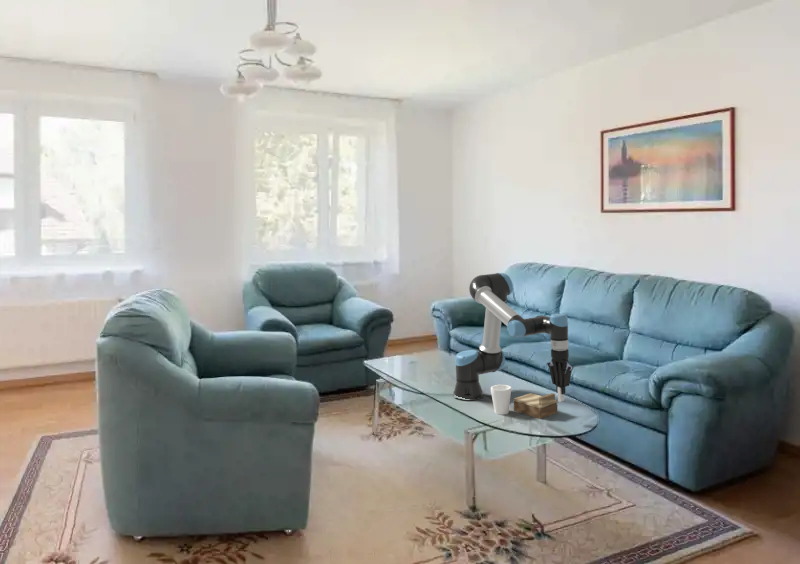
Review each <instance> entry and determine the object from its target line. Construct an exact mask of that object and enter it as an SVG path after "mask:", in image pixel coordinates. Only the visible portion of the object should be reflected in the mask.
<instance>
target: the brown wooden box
mask: <svg viewBox="0 0 800 564" xmlns="http://www.w3.org/2000/svg"><path fill="white" fill-rule="evenodd" d="M513 411H514V412H516V413H519V414H523V415H526V416H529V417H532V418H535V419H539V420H541V419H544V418H546V417H550V416H552V415H556V414H557V413H558V402H557V403H555V404H552V405H549V406H546V407H543V408H540V409H539V408H536V407H533V406H529V405H526V404H523V403H519V402H516V401H514V400H513Z"/></svg>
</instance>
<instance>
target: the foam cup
mask: <svg viewBox="0 0 800 564" xmlns="http://www.w3.org/2000/svg"><path fill="white" fill-rule="evenodd" d="M511 393H512V386H510V385H508V384H495V385H492V386H490V394H491V398H492V405H493V410H494V413H495V414H496V415H501V416H502V415H503V416H505V415H508V414H509V412H510V404H511Z"/></svg>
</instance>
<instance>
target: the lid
mask: <svg viewBox="0 0 800 564" xmlns="http://www.w3.org/2000/svg"><path fill="white" fill-rule="evenodd" d="M514 401H516V402H519V403H523V404H526V405H529V406H533V407H536V408H539V409H540V408H543V407H546V406H549V405H552V404H555V403H557V404H558V399H556V393H548V394H546V395H538V394H535V393H531V392H530V393H527V394H523V395H521V396H517V397H514V398H513V402H514Z"/></svg>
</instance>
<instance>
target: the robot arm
mask: <svg viewBox="0 0 800 564" xmlns="http://www.w3.org/2000/svg"><path fill="white" fill-rule="evenodd" d="M512 281H513V280H512V279H511V277H510V276H509V275H508V274H507V273H504V272H495V273H488V274H480V275H477V276H475V277H474V278H473V279H472V280H471V282H470V283H469V287H468V288H469V289H468V290H469V291H468V292H469V294H470V296H471V298H472V299H473V300H474V301H475V302H476V303H477V304H481V305H483V307H485V316H484V322H483V323H484V325H483V336H482V343H481V344H480V345H479V347H478V351H477V350H476V349H469V350H467V349H466V350H463V351H460V352H458V353H457V354H456V355H455V360H454V361H455V362H454V363H455V380H456V381H455V388H454V391H453V395H454V394H455V395H456V396H458V397H462V398H465V399H476V400H479V399H478V398H480V399H481V397H482V398H483V397H484V395H483V394H484V392H483V389H482V386H481V384H480V380H479V379H480V376H479V375H483V374H489V373H495V372H498V371H500V370H502V369H503V368H504V366H505V364H506V356H505V353H504V351H503V350H502V347H500V338H501V329H502V323H503V324H504V325H505V326H506V330H507V331H506V332H507V333H508V335H509V336H510V337H511V338H522V337H527V336H532V335H538V334H547V335H550V348H551V349H550V356H551V361H549V362H547V363H546V365H547V366H548V368H549V369H548V370H549V374H550V378H551V383H552V385H555V388H556V389H555V391H556V394H557V402H559V403H560V402H564V401H565V395H566V387H568V386H570V384H571V383H570V382H571V377H572V372H573V369H574V366H573V365H570V362H569V353H570V352H569V351H570V350H569V322H568V316H567V314H565V313H552V314H550V316H545V315H542V314H541V315H540V314H536V315H534V316H533V317H529V318H524V317H522V316H521V315H520V314H519V313H517V312H516V311H515V310H514V309H513V308H511V307H510V306H509V305H508V304H507V303H506V302H507V299H508V296H510V295H511V294H512V293H513V290H514V285H513V282H512Z"/></svg>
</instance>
